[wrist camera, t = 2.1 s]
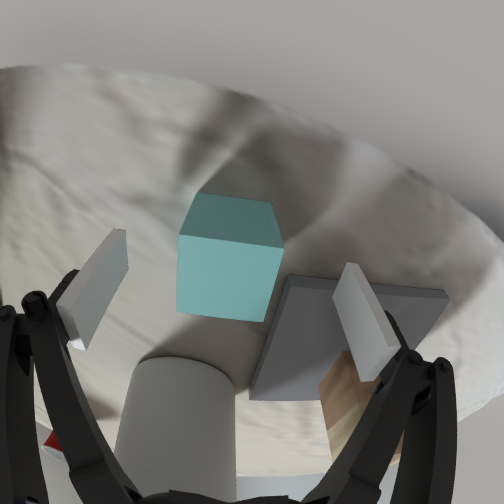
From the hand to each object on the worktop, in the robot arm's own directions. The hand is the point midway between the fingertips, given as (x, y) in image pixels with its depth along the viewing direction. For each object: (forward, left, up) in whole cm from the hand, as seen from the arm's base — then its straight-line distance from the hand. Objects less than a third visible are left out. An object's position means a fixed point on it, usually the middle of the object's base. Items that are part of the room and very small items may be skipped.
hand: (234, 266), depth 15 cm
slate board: (+14, -12, -4) cm, 19 cm away
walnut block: (+16, -14, -3) cm, 21 cm away
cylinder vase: (-3, -21, -4) cm, 22 cm away
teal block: (0, 0, -4) cm, 4 cm away
